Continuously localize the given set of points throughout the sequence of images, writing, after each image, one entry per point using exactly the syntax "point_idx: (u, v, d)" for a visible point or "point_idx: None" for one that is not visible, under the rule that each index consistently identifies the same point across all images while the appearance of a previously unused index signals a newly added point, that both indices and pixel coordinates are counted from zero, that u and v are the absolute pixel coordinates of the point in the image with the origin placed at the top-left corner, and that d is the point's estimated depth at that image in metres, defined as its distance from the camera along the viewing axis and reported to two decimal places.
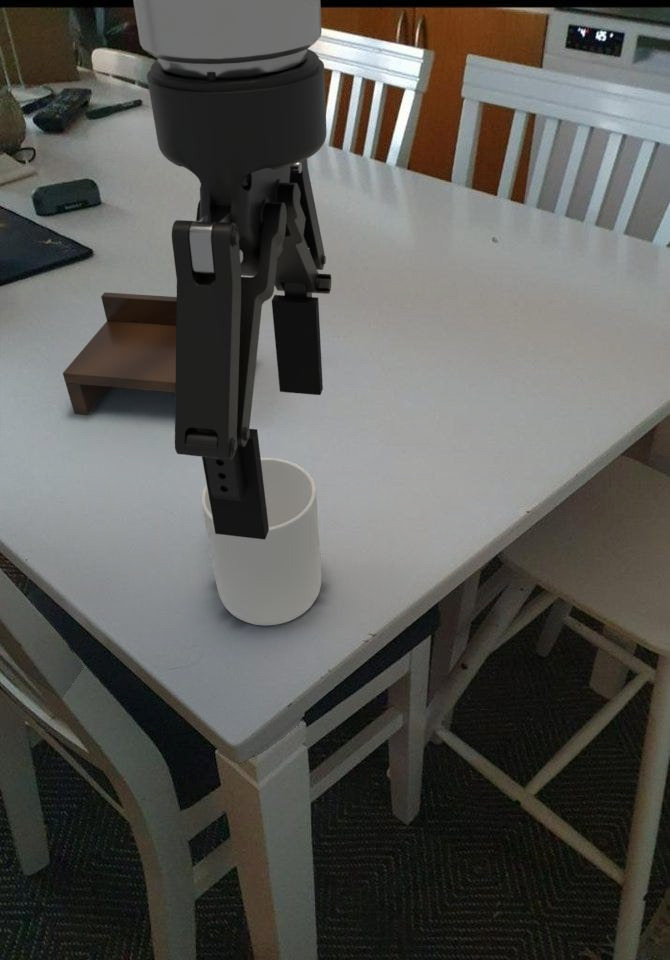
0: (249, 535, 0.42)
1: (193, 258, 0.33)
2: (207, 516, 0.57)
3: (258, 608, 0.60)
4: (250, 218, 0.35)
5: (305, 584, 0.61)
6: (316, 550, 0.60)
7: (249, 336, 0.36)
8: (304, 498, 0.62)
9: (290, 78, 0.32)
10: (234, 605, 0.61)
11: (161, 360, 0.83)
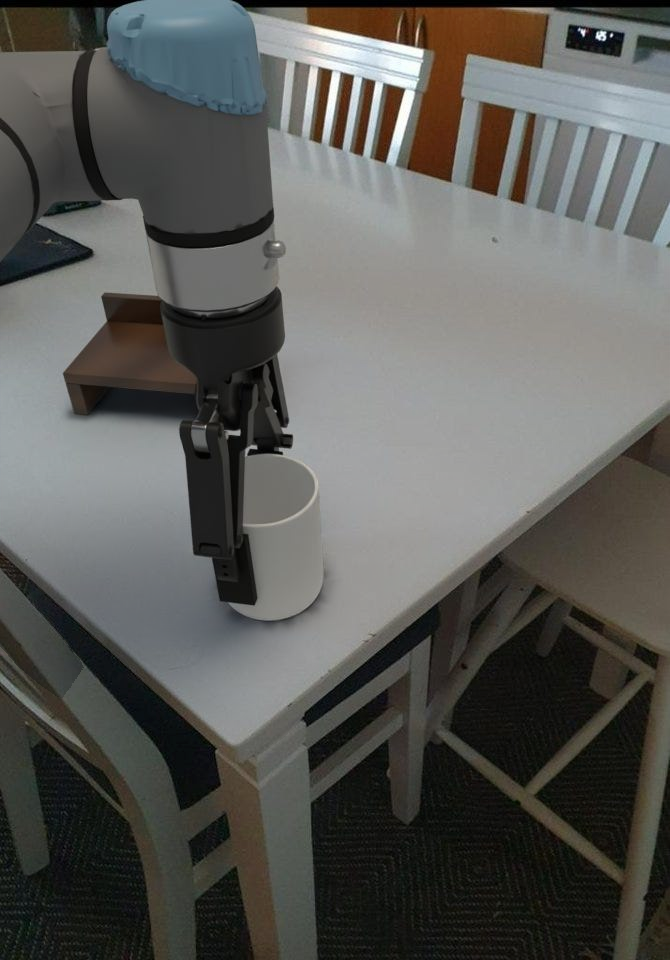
0: (243, 602, 0.60)
1: (195, 445, 0.49)
2: None
3: (262, 603, 0.61)
4: (231, 400, 0.50)
5: (308, 579, 0.61)
6: (319, 545, 0.61)
7: (237, 478, 0.53)
8: (306, 494, 0.62)
9: (256, 316, 0.48)
10: None
11: (161, 360, 0.83)
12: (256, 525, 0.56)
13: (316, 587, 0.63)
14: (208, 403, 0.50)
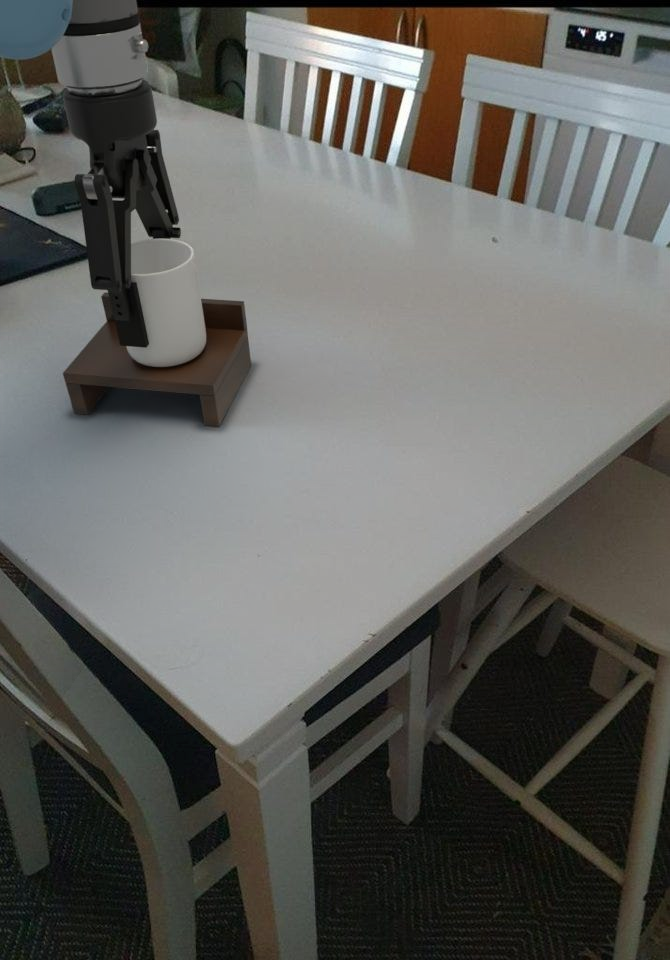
0: (138, 345, 0.79)
1: (86, 193, 0.68)
2: None
3: (153, 349, 0.80)
4: (115, 165, 0.69)
5: (189, 331, 0.80)
6: (197, 305, 0.80)
7: (124, 232, 0.72)
8: None
9: (129, 95, 0.67)
10: (136, 349, 0.81)
11: None
12: (142, 274, 0.75)
13: (197, 342, 0.82)
14: (97, 165, 0.69)
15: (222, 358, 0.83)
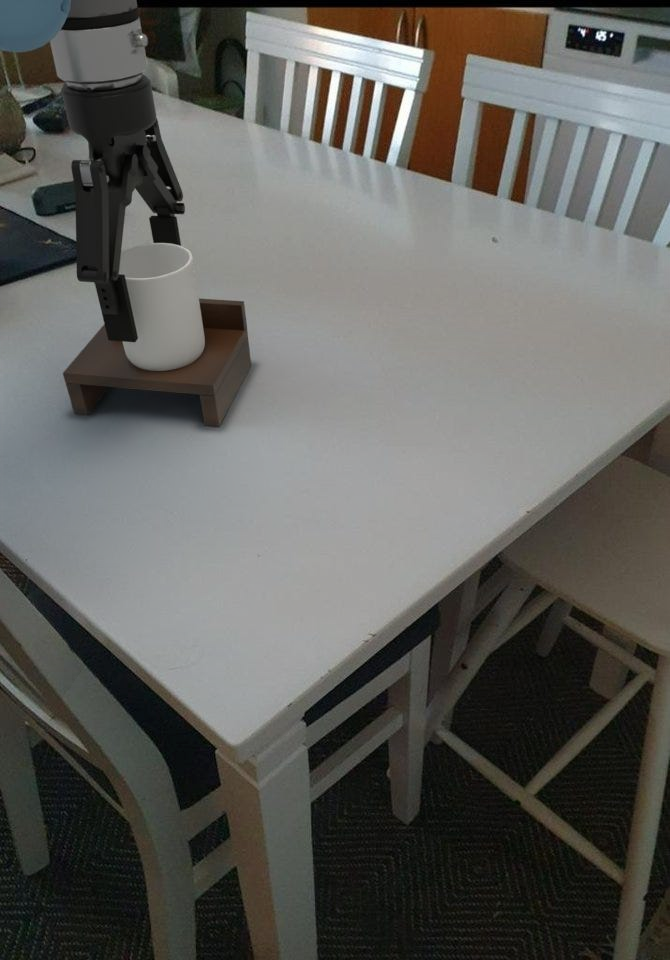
0: (126, 340, 0.76)
1: (82, 178, 0.67)
2: None
3: (152, 353, 0.80)
4: (114, 160, 0.69)
5: (188, 335, 0.80)
6: (196, 309, 0.80)
7: (116, 222, 0.71)
8: None
9: (128, 90, 0.67)
10: (135, 353, 0.81)
11: None
12: (141, 278, 0.75)
13: (196, 346, 0.82)
14: None
15: (222, 358, 0.83)
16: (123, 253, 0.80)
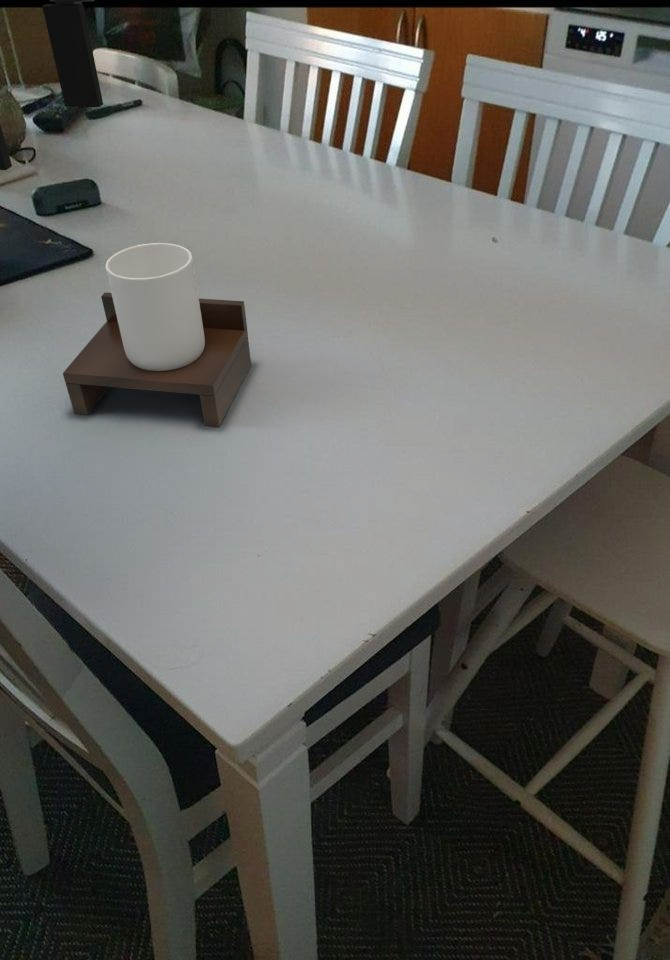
0: None
1: None
2: (109, 273, 0.76)
3: (152, 353, 0.80)
4: None
5: (188, 335, 0.80)
6: (195, 309, 0.80)
7: None
8: None
9: None
10: (135, 353, 0.81)
11: None
12: (141, 278, 0.75)
13: (196, 346, 0.82)
14: None
15: (222, 358, 0.83)
16: (123, 253, 0.80)
